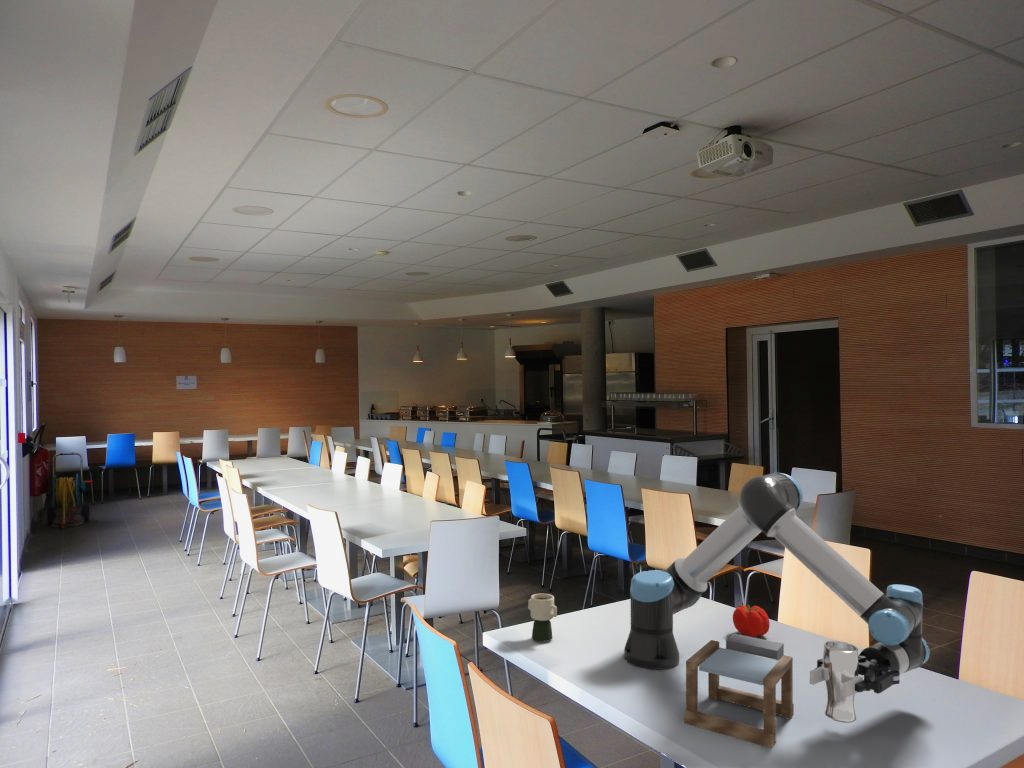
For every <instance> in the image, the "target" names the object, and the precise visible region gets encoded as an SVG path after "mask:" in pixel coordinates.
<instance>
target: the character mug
mask: <svg viewBox="0 0 1024 768" xmlns="http://www.w3.org/2000/svg"><path fill="white" fill-rule="evenodd" d="M527 602H528V605H527V606H528V610H529V611H530V618H531V619H532V620H534V621H533V624H532V630H531V631H532V632H531V634H532V635H531V639H532V640H533V641H535V642H547V641H550V640H553V629H552V623H551V620H552V619H553V618H557V615H558V607H557V606H556V605H555V596H554V594H553V595H552V594H550V593H535V594H532V595H531V596H530V599H528V600H527Z"/></svg>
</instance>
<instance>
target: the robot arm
mask: <svg viewBox="0 0 1024 768" xmlns="http://www.w3.org/2000/svg"><path fill="white" fill-rule="evenodd" d="M803 499H804V498H803V490H802V487H801V486H800V484H799V482H798V481H797V480H796V479H795V478H794V477H793V476H791V475H789V474H786V473H782V472H771V473H768V474H765V475H764V474H763V475H759V476H755V477H752V478H750V479H749V480H747V481H746V482H745V483H744V484H743V486H742V487H741V490H740V492H739V498H738V507H737V508H736V509H735V510H734V511H733V512H732V513H731V514H730V515H729V516H728V517H727V518H726V519H725V520H724V521H723V522H722V523H721V524H719V525H718V526H717V527H716V529H714V530H713V531H712V532H711V533H710V534H709V535H708V536H707V537H706V538H705V539H704V540H703V541H702V542H701V543H700V544H699V545H698V546H697V547H696V548H695V549H693V551H691V553H690V554H689V555H687V557H685V558H684V557H683V558H682V557H678V558H676V559H675V560H674V561H673V563H671V564H670V565H669V566H668V567H667V568H666V569H665V570H657V569H654V570H653V569H651V570H648V571H647V570H643V571H640V572H637V573H636V574H634V575H633V576H632V578H631V581H630V587H629V592H630V593H629V594H630V628H629V629H630V631H629V633H628V637H627V639H626V642H625V644H624V645H625V646H624V650H623V653H624V654H623V659H624V660H625V661H626V662H627V663H629V664H631V665H633V666H635V667H639V668H643V669H651V670H665V669H671V668H674V667H676V666H678V664H680V652H679V648H678V645H677V642H676V639H675V635H674V615H675V614H677V613H678V612H681V611H683V610H686V609H688V608H691V607H692V606H695V604H697V602H698V601H699V599H701V596H702V594H703V593H705V592H706V591H707V590H708V581H710V580H711V579H712V578H713V577H714V576H715V575H716V574H717V573H718V572H719V571H720V570H721V569H722V568H723V567H725V566H726V565H727V564H728V563H729V562H730V561H731V560H732V559H733V558H734V557H735V556H736V555H737V554H739V553H740V552H741V551H742V550H743V549H744V548H745V547H746V546H748V545H749V544H750V542H751V541H753V540H754V539H755V538H756V537H757V536H759V534H761V533H763V534H764V535H765V536H766V537H767V538H775V540H777V541H778V542H779V543H780V544H781V545H782V546H783V547H784V548H785V549H786V550H787V551H788V552H790V553H791V555H793V556H794V557H795V558H796V559H797V560H798V561H800V563H802V564H803V566H804V567H806V568H807V569H808V570H809V571H810V572H811V573H812V574H813V575H815V577H816V578H818V579H819V580H820V581H821V582H822V583H823V584H824V585H825V586H826V587H827V588H828V589H829V590H830V591H832V592H833V593H834V594H835V595H836V596H837V597H838V598H839V599H840V600H842V601H843V602H844V603H845V604H846V605H847V606H848V607H849V608H850V609H851V610H852V611H853V612H854V613H855V614H856V615H858V616H859V618H861V619H862V620H863V621H864V622H865V623H866V624H867V625H868V626H867V627H868V630H869V633H870V635H871V636H872V638H873V639H874V640H876V642H877V643H875V644H874V645H871V646H868V647H866V648H864V649H862V651H860V653H858V661H859V674H858V677H857V678H854V679H851V680H849V681H847V682H844V683H843V697H848V696H851V695H853V694H855V695H856V694H857V693H863V692H866V691H867V692H870V691H873V693H875V694H882V693H883V692H884V691H886V690H888V689H889V688H890V687H892V686H894V685H899V684H900V677H901V676H900V675H903V674H905V673H907V672H909V671H912V670H915V669H918V668H920V667H921V666H922V665H924V664H925V663H927V661H928V660H929V657H930V654H931V653H930V648H929V645H928V644H927V641H926V640H925V639H924V638H923V606H924V602H923V593H922V591H921V590H920V589H919V588H917V587H915V586H911V585H905V584H895V583H894V584H890V585H887V588H886V594H885V593H884V592H883V591H881V590H880V589H879V588H878V587H877V586H875V584H873V582H871V581H870V580H869V579H868V578H867V577H866V576H865V575H863V574H862V573H861V571H859V570H858V569H857V568H855V567H854V566H853V565H852V564H851V563H850V562H849V561H848V560H846V559H845V557H843V556H842V555H841V554H840V553H839V552H838V551H836V549H834V548H833V547H832V546H831V545H829V543H827V542H826V541H825V540H824V539H823V538H822V537H821V536H820V535H819V534H817V533H816V532H815V531H814V530H813V529H812V528H811V527H810V526H808V525H807V524H806V523H805V522H804V521H803V520H802V519H800V518H799V517H798V516H797V513H796V512H798V510H799V509H800V508H801V506H802V503H803ZM859 675H860V676H859ZM821 682H825V680H824V673H823V657H822V658H820V659H817V660H816V667H815V668H814V669H811V670H810V671H809V684H810V685H813V686H814V685H817V684H819V683H821Z"/></svg>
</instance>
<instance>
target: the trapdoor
mask: <svg viewBox="0 0 1024 768" xmlns="http://www.w3.org/2000/svg"><path fill="white" fill-rule="evenodd" d="M784 648H785V644H784V643H782V642H777V641H772V640H769V639H762V638H758V637H754V638H753V637H748V636H744V635H742V634H737V633H732V634H731V635H730V636H729V637H727V639H726V640H725V648H724V647H720V646H719V649H718V650H716V651H715V652H714V653H713V654H712V655H711V656H710V657H709V658H707V659H706V660H705V661H704V662H703V663H702V664H701V665H699V666H698V671H700V672H706V673H712V674H717V675H719V676H722V677H726V678H731V679H733V680H734V679H735V680H739V681H743V682H746V683H750V684H755V685H759V686H764V678H765V677H766V675H767V674H768V673H769V672H770V671H771V669H772V668H773V667H774V666H775V665H776V663H777V662H778V661H779V660H780V659H781V657H782V656H783V655H785V654H784V652H785V651H784Z"/></svg>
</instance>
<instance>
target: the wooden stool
mask: <svg viewBox="0 0 1024 768" xmlns="http://www.w3.org/2000/svg"><path fill="white" fill-rule="evenodd" d="M719 647H720V641H718V640H715V639H714V640H713V639H711V640H710V641H708V642H707V643H706V644H704V645H703V646H702V647H701V648H700V649H699V650H697V651H696V652H695V653H694V654H693V655H691V656H690V657H689V658H687V660H685V711H684V712H683V713H684V715H683V717H684V719H683V720H684V721H683V723H684V724H685V725H689V726H692V727H697V728H701V729H704V730H707V731H710V732H714V733H718V734H721V735H724V736H728V737H731V738H735V739H737V740H741V741H742V740H743V741H745V742H749V743H751V744H757V745H760V746H762V747H766V748H771V749H772V748H774V746H775V744H776V743H777V719H776V718H777V716H776V715H778V716H779V715H780V717H781V718H783V719H787V720H792V718H793V716H794V713H795V711H794V710H795V709H794V708H795V707H794V703H793V699H794V698H793V693H794V692H793V690H794V689H793V687H794V686H793V684H794V683H793V681H794V680H793V667H794V666H793V663H794V662H793V661H794V660H793V656H789V655H785V654H784V655H783V656H782V657H781V659H780V660H779V661H778V662H777V663H776V665H775V666H774V667H773V668H772V669H771V671H770V672H769V673H768V674H767V675H766V677H765V678H764V685H763V695H759V694H755V693H752V692H747V691H743V690H739V689H734V688H731V687H729V686H728V687H727V686H723V685H720V675H717V674H712V673H708V672H707V673H708V679H707V680H708V682H707V683H708V684H707V685H708V690H707V691H708V695H707V696H708V699H709V698H710V699H711V700H713V699H714V700H713V701H718V700H720V699H722V700H721V701H724V700H726V702H728V701H730V702H729V703H732V702H734V703H733V704H736V703H737V704H736V705H740V704H741V706H744V705H745V707H747V706H749V707H748V708H751V707H753V708H752V709H755V708H756V710H759V709H760V711H763V710H764V711H763V728H760V727H756V726H753V725H749V724H745V723H741V722H739V721H735V720H730V719H728V718H724V717H719V716H716V715H714V714H713V715H712V714H709V713H705V712H702V711H698V710H699V707H698V702H699V701H698V700H699V699H698V698H699V695H698V693H699V690H698V689H699V688H698V687H699V685H698V683H699V681H698V680H699V679H698V678H699V677H698V675H699V673H698V672H699V666H700V665H701V664H702V663H703V662H704V661H705V660H706V659H707V658H709V657H710V656H711V655H712V654H713V653H714V652H715V651H716V650H718V649H719ZM780 681H781V682H780ZM779 682H780V683H781V687H780V689H781V691H780V692H781V695H780V697H781V700H780V699H776V698H777V695H776V693H777V690H776V689H777V686H776V685H777V684H779Z"/></svg>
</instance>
